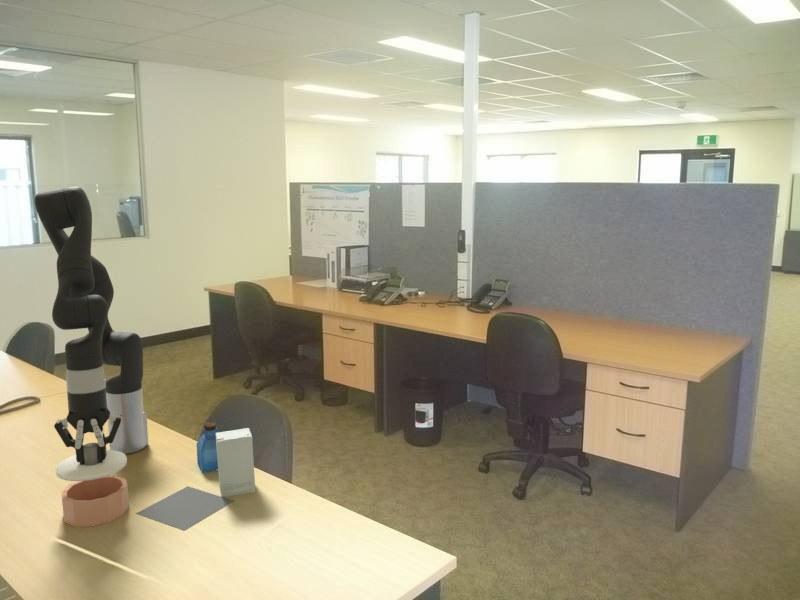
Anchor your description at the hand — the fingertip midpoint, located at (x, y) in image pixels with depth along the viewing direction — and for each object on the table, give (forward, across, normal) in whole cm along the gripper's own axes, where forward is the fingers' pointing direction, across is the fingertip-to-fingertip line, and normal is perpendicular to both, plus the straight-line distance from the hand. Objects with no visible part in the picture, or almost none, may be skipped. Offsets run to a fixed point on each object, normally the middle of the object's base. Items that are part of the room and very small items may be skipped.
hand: (92, 461), depth 138 cm
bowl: (+12, 0, 0) cm, 12 cm away
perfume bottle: (+12, +25, +18) cm, 33 cm away
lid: (+2, 0, 0) cm, 2 cm away
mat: (+12, +19, -3) cm, 23 cm away
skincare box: (+12, +31, +2) cm, 33 cm away
